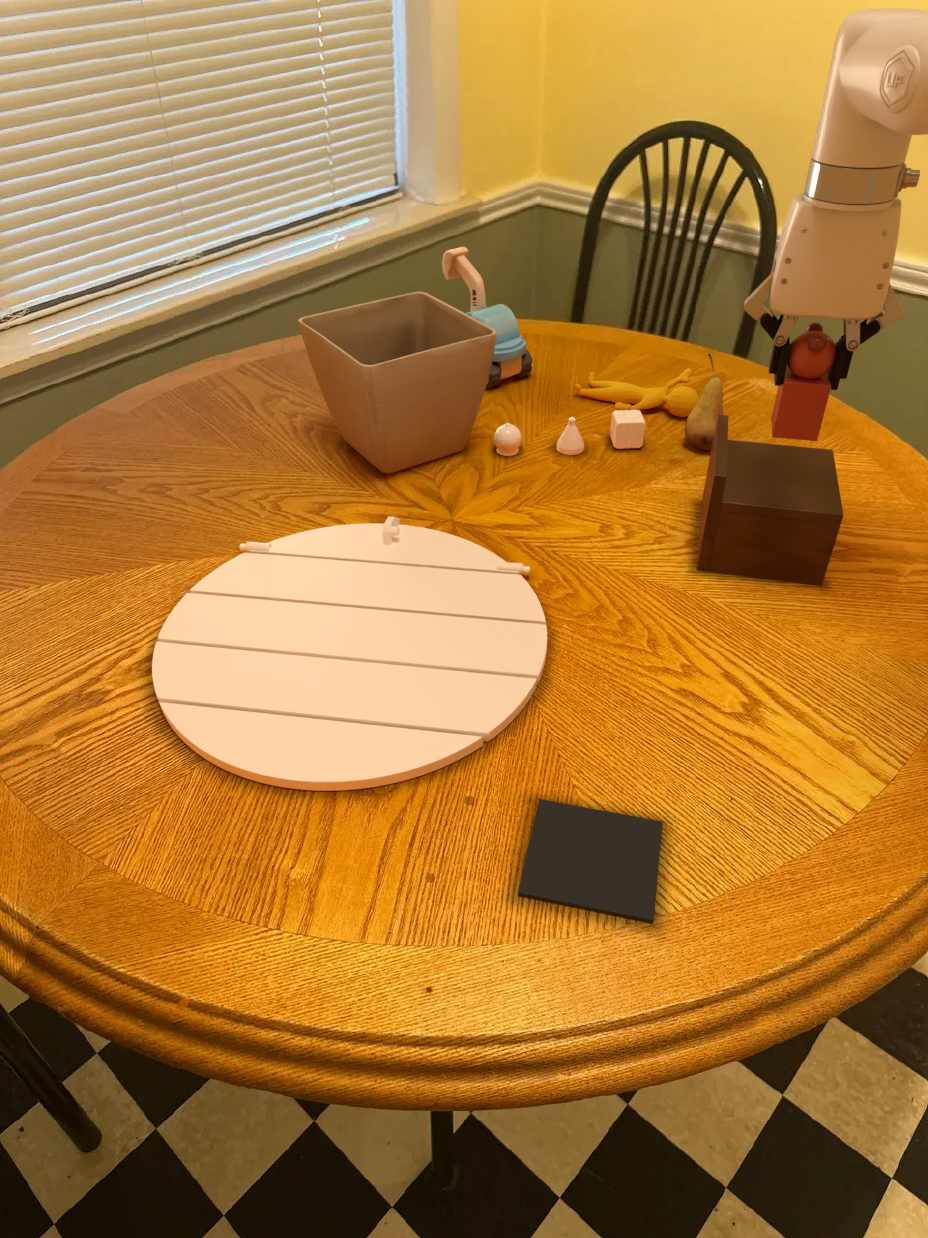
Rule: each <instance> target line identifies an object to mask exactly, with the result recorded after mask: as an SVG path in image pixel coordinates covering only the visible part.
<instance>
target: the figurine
mask: <svg viewBox="0 0 928 1238" xmlns="http://www.w3.org/2000/svg"><path fill="white" fill-rule="evenodd" d="M693 375H694V373H693V370H692V368H690V367H687V368H686V369H685V370H684V371H682V373H681V374H679V375H678V376H677V377H675V378H674V379H672V380H671V381H670V382H668V383H666V384H665V385H664V386H657V387H642V386H638V385H635V384H632V383H630V382H625V381H623V382H622V381H613V380H595V378H596V373H595V372H594V371H591V372H590V373H589V378H588V381H589V385H590V386H591V387H593V388H582V387H581V385H580V384H579V383H575V384H574V388H575V391H576V393H578V395H580V396H583V397H587V398H591V399H594V400H600V401H605V402H611V403H615V404H614V410H615V411H616V410H623V411H624V410H639V411H641V410H649V409H652V408H657V407H660V406H662V405H663V404H666V406H667V409H668V412H669V413H670V414H672V415H673V416H676V417H678V418H686V417H687V418H688V416H689V415H690V413H691V412H692V410H693V409H694V407H695V406H696V405H697V403H698V402H699V395H698V392H697V391H696V390H695V389H694V388H692V387H690V386H686V385H681V386H677V387H676V388H673V387H674V386H676V385H678V384H688V383H690V378H691V377H692V376H693ZM671 388H673V389H672V390H671V391H670V392H669V394H668V391H669V390H670V389H671ZM632 404H634V405H632Z"/></svg>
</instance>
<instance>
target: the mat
mask: <svg viewBox="0 0 928 1238" xmlns="http://www.w3.org/2000/svg"><path fill="white" fill-rule="evenodd" d="M662 832H663V821H661V820H657V819H653V818H651V819H650V818H647V817H646V818H645V817H641V816H635V815H629V814H624V813H618V812H613V811H608V810H602V809H596V808H591V807H585V806H581V805H575V804H569V803H565V802H558V801H553V800H547V799H542V798H539V799H538V803H537V808H536V812H535V816H534V821H533V825H532V829H531V834H530V838H529V843H528V846H527V851H526V857H525V859H524V864H523V869H522V873H521V878H520V882H519V886H518V891H517V895H518V897H519V896H520V897H525V898H529V899H533V900H534V899H535V900H539V901H543V902H549V903H554V904H559V905H563V906H568V907H573V908H578V909H583V910H588V911H592V912H596V913H601V914H606V915H612V916H616V917H622V918H626V919H631V920H634V921H635V920H636V921H639V922H640V921H641V922H646V923H649V924H654V922H655V912H656V899H657V892H658V891H657V890H658V879H659V866H660V855H661V844H662V834H663V833H662Z"/></svg>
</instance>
